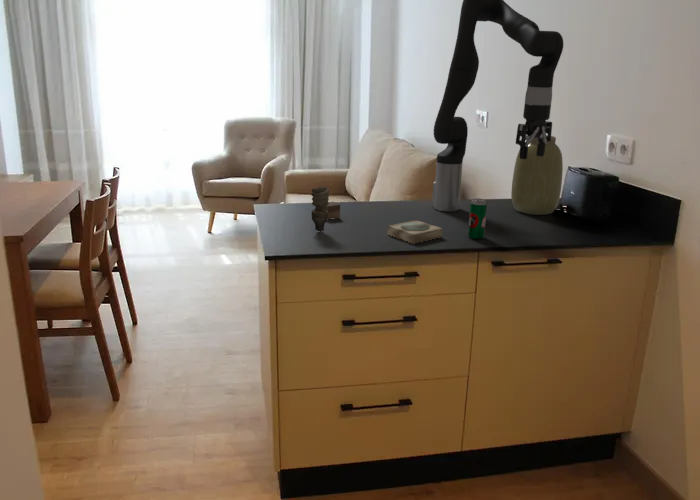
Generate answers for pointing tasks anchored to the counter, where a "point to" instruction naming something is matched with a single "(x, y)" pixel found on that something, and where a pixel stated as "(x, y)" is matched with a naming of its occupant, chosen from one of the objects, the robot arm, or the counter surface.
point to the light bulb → (320, 207)
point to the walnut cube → (333, 210)
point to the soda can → (477, 218)
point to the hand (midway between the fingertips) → (531, 157)
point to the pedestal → (414, 231)
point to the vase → (538, 179)
